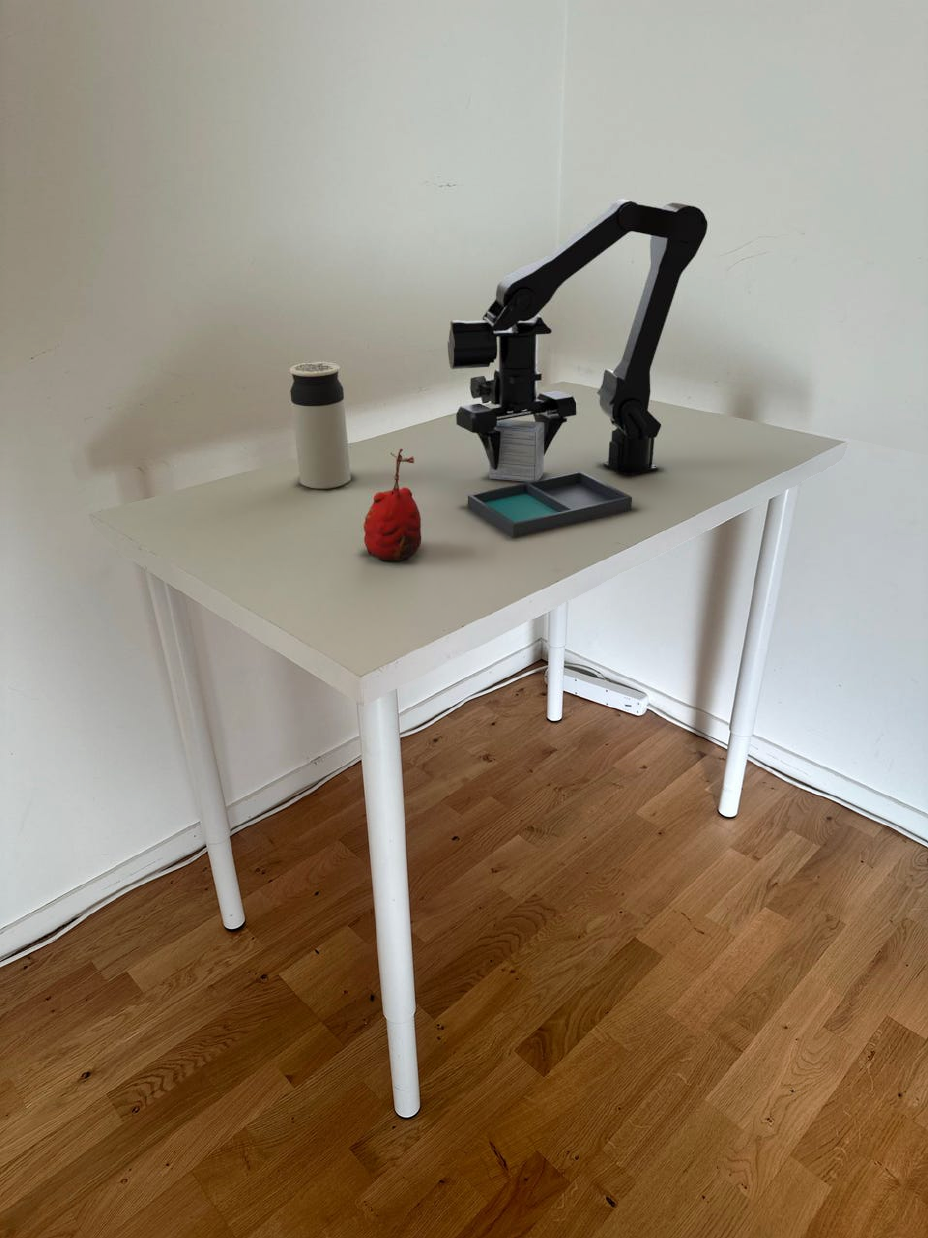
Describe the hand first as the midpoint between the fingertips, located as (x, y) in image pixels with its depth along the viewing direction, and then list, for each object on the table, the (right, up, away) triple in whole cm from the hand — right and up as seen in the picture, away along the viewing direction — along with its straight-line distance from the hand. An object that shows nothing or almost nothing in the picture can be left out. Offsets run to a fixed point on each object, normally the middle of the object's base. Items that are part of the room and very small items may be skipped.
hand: (517, 464), depth 144 cm
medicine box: (0, -2, +1) cm, 2 cm away
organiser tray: (+4, -8, -11) cm, 14 cm away
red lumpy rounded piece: (-17, -16, -24) cm, 34 cm away
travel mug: (-30, -3, +1) cm, 30 cm away
